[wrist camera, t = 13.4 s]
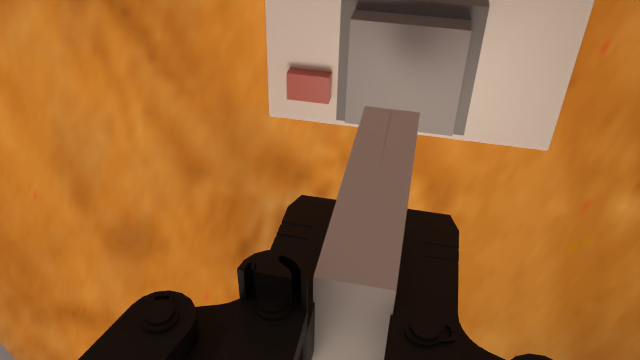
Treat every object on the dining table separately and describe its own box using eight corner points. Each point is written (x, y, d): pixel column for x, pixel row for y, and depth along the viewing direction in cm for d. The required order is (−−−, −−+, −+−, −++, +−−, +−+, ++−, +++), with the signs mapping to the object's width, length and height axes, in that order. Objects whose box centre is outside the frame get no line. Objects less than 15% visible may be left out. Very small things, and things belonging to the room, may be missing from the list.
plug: (481, -72, 28) (490, 17, 18) (464, 25, 31) (463, 149, 21) (382, -78, 29) (336, 3, 19) (374, 17, 32) (331, 132, 22)
